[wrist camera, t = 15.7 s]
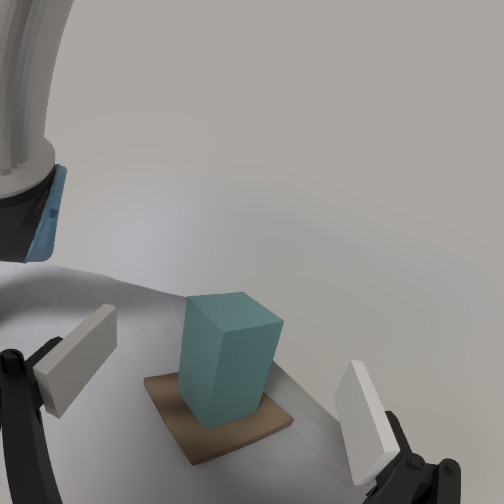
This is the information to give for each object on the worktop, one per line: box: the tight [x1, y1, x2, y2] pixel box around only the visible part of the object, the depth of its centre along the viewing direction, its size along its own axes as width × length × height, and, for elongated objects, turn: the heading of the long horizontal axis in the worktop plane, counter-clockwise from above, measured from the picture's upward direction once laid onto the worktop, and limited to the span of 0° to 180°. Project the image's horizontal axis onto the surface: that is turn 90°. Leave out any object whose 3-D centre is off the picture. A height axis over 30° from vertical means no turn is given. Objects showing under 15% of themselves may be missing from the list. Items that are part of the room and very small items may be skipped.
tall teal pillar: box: [177, 292, 284, 430], centre depth 26 cm, size 6×6×12 cm
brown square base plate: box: [144, 372, 293, 465], centre depth 27 cm, size 12×12×9 cm
